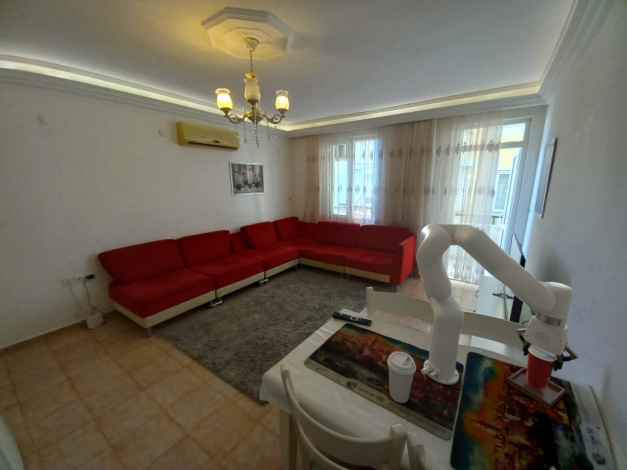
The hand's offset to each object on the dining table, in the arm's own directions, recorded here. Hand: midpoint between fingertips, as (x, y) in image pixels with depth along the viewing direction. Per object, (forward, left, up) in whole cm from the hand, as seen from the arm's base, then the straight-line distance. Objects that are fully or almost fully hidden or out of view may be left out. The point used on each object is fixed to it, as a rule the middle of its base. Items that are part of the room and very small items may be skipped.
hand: (540, 361), depth 85 cm
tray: (0, 0, -12) cm, 12 cm away
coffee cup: (-47, +21, -12) cm, 53 cm away
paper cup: (0, 0, -10) cm, 10 cm away
